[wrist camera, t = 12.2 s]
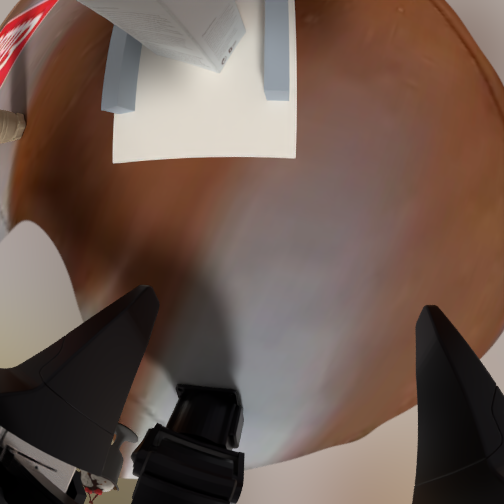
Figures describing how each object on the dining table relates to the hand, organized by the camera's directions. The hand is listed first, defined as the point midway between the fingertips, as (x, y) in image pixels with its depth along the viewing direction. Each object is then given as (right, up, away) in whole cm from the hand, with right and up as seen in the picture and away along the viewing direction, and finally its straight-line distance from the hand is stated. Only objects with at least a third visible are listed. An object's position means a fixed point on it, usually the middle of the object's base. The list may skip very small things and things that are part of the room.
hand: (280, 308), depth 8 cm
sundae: (-21, -26, +24) cm, 41 cm away
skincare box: (-5, +17, +7) cm, 19 cm away
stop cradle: (-5, +16, +9) cm, 19 cm away
